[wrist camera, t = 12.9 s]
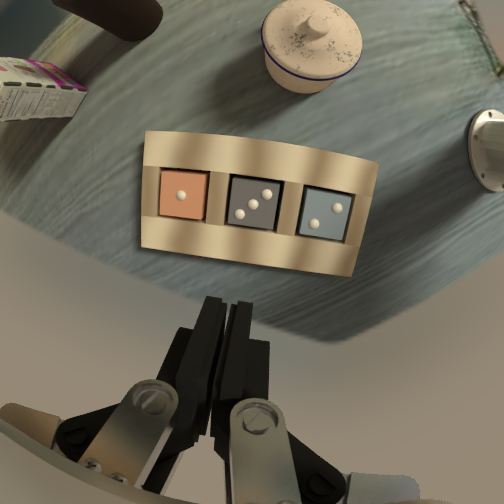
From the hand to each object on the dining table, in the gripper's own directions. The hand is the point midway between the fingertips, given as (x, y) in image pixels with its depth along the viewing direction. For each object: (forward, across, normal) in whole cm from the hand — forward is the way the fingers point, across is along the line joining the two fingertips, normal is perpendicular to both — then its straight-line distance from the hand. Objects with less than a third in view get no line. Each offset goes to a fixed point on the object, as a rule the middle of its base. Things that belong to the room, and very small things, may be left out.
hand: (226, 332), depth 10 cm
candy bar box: (+25, +30, -14) cm, 41 cm away
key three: (+24, 0, 0) cm, 24 cm away
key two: (+25, -8, 0) cm, 26 cm away
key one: (+24, +8, 0) cm, 26 cm away
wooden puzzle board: (+25, 0, 0) cm, 25 cm away
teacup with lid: (+25, -3, -19) cm, 31 cm away
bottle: (+25, +18, -23) cm, 38 cm away
